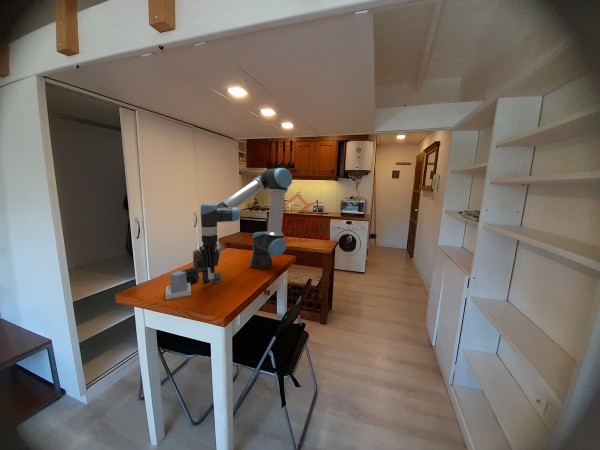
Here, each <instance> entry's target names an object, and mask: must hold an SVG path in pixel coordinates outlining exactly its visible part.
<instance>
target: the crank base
mask: <svg viewBox="0 0 600 450" xmlns="http://www.w3.org/2000/svg"><path fill="white" fill-rule="evenodd" d="M211 282H212V284H215V285H217V284H220V283H222V278H221V279H220V280H213V281H211Z"/></svg>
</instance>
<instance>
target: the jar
mask: <svg viewBox="0 0 600 450" xmlns="http://www.w3.org/2000/svg"><path fill="white" fill-rule="evenodd" d="M201 246H202V245H200V246H196V247H195V250H194V251H193V253H192V260H193V261H192V263H193V267H192V268H193V269H195V270H198V271H199V273H202V270H203V269H205V268H207V266H206V265H204V264H203V259H202V255H201V251H200V249H199V247H201Z"/></svg>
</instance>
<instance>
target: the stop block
mask: <svg viewBox="0 0 600 450" xmlns="http://www.w3.org/2000/svg"><path fill="white" fill-rule="evenodd" d="M182 271H183V270H176V271H174V272H173V273H169V278H170V279H169V280H170V281H169V282H170V286H171V293H177V292H184V291H187V279H186V272H182Z"/></svg>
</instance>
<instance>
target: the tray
mask: <svg viewBox="0 0 600 450" xmlns="http://www.w3.org/2000/svg"><path fill="white" fill-rule="evenodd" d="M191 287H192V286H191V282H189V283H187V291H184V292H177V293H171V285H167V286H166V287H165V288H166V289H165V295H164V296H165V301H167V300H174V299H179V298H185V297H191V296H192V289H191Z"/></svg>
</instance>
